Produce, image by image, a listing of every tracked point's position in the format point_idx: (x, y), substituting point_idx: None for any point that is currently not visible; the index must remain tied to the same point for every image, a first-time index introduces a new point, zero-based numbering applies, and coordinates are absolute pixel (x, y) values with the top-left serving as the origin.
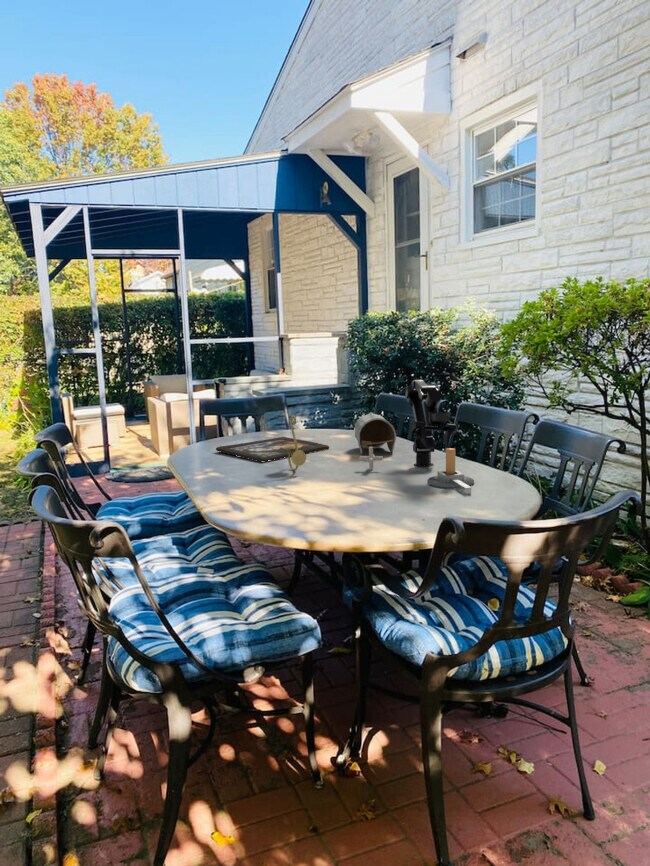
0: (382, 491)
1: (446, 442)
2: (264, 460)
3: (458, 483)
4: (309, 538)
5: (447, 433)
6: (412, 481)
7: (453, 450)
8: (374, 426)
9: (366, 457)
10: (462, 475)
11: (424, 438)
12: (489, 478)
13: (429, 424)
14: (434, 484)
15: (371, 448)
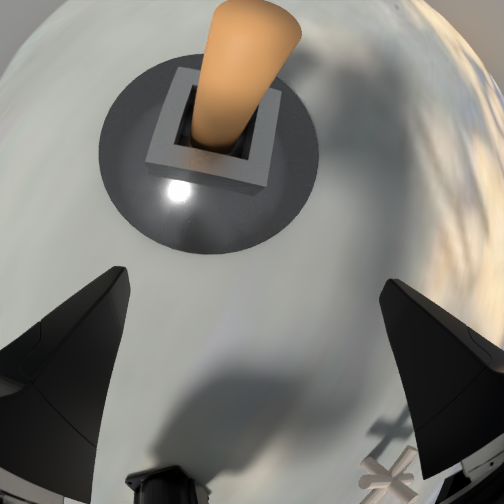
0: (444, 185)
1: (100, 321)
2: None
3: None
4: (489, 76)
5: (11, 418)
6: (347, 252)
7: (250, 2)
8: None
9: (403, 477)
10: (186, 71)
11: (461, 324)
12: (25, 142)
13: None
14: (311, 123)
15: (414, 494)
